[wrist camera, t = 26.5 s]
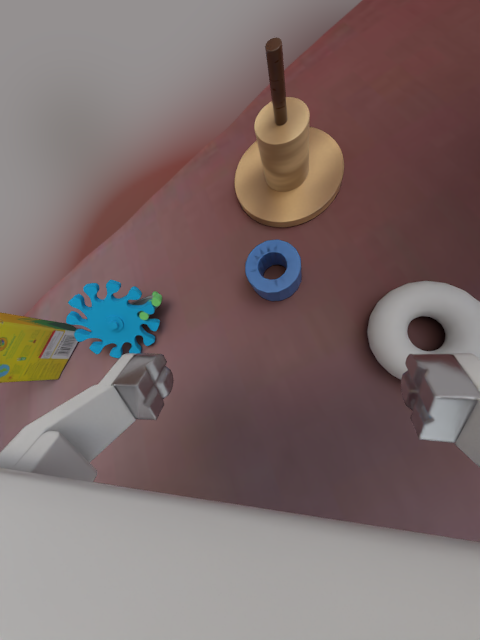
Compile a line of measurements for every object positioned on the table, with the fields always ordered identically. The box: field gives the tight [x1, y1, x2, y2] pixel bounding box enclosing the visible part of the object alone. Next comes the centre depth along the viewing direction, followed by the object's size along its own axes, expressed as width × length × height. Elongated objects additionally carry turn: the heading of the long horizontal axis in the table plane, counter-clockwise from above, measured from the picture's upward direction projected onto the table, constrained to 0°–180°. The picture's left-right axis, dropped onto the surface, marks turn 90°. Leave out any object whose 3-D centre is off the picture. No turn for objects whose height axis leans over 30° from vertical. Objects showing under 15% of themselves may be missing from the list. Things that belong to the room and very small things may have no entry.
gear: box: [66, 280, 162, 358], centre depth 32 cm, size 11×6×10 cm
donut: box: [367, 281, 480, 380], centre depth 24 cm, size 10×4×10 cm
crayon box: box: [0, 313, 78, 383], centre depth 30 cm, size 7×3×12 cm, turn 152°
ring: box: [245, 240, 302, 301], centre depth 28 cm, size 6×6×4 cm
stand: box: [235, 38, 344, 227], centre depth 25 cm, size 13×13×14 cm
